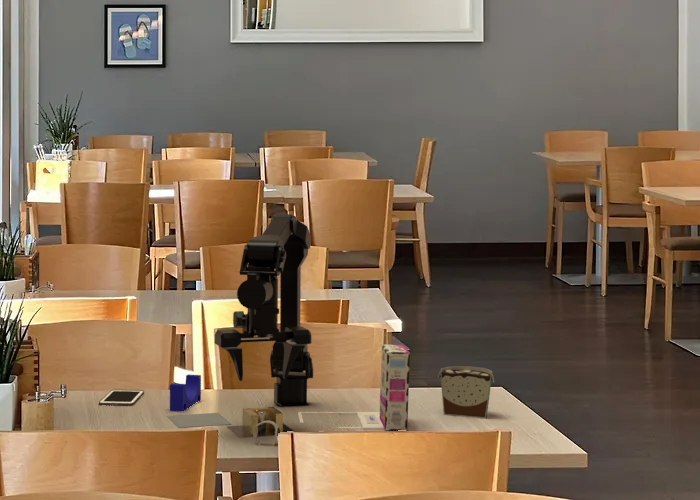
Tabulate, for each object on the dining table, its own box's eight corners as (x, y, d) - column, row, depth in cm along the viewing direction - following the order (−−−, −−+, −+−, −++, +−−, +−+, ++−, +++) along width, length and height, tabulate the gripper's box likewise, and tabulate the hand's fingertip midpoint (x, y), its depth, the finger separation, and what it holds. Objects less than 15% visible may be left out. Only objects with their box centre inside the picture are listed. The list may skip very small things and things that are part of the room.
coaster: (218, 415, 268) (218, 412, 268) (231, 426, 257) (231, 423, 257) (167, 418, 264) (167, 415, 264) (178, 430, 254) (178, 427, 254)
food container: (498, 413, 274) (500, 368, 273) (492, 419, 269) (494, 373, 268) (444, 408, 278) (445, 364, 277) (437, 414, 273) (438, 368, 272)
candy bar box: (409, 432, 256) (410, 352, 254) (384, 432, 255) (386, 352, 254) (402, 419, 267) (403, 343, 265) (378, 419, 266) (380, 343, 265)
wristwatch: (277, 449, 240) (277, 423, 240) (252, 447, 241) (252, 422, 240) (280, 445, 243) (281, 420, 242) (255, 444, 244) (255, 418, 243)
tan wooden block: (273, 425, 257) (273, 406, 256) (282, 433, 251) (282, 413, 250) (242, 428, 254) (242, 408, 254) (251, 435, 248) (251, 415, 248)
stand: (282, 425, 260) (282, 405, 259) (297, 436, 250) (297, 415, 250) (226, 428, 256) (226, 408, 255) (239, 440, 246) (239, 419, 246)
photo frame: (389, 426, 257) (301, 427, 256) (388, 431, 257) (301, 432, 256) (381, 410, 272) (298, 411, 270) (381, 416, 272) (298, 416, 270)
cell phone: (97, 407, 276) (97, 402, 276) (111, 393, 290) (111, 389, 290) (132, 407, 276) (132, 403, 276) (145, 394, 290) (145, 390, 290)
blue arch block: (181, 400, 284) (181, 374, 283) (200, 401, 283) (200, 375, 282) (163, 411, 272) (163, 384, 271) (182, 412, 271) (183, 385, 270)
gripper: (295, 295, 261) (294, 369, 262) (208, 298, 254) (207, 374, 256) (312, 302, 251) (311, 379, 252) (221, 305, 244) (221, 385, 246)
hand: (262, 379), depth 252 cm, fingers open, 9 cm apart
